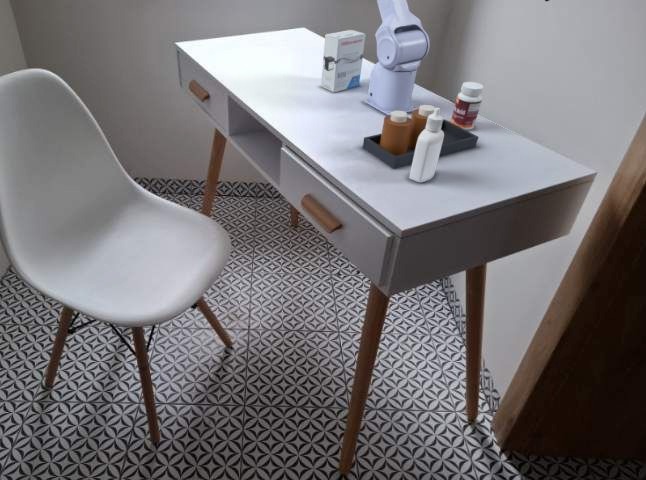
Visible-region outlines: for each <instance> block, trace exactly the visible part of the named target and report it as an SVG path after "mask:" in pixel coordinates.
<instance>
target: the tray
mask: <svg viewBox="0 0 646 480" xmlns="http://www.w3.org/2000/svg"><path fill="white" fill-rule="evenodd" d="M441 130H442V131H443V132H444V138H443V143H442V147H441V151H440V155H439V157H442V156H447V155H451V154H454V153H458V152H462V151H466V150H470V149H473V148H476V146H477V143H478V141H479V136H478V135H476V134H474V133H472V132H470V131H469V130H464V129H463V128H461V127H459V126H457V125H455V124H453V123H451V121H449V120H448V119H444V118H443V122H442V126H441ZM381 134H382V133H378V134H373V135H370V136H365V137H363V142H362V149H363V150H365V151H366V152H367V153H369V154H371V155H372V156H374V157H375V158H377V159H378V160H380V161H381V162H383V163H384V164H386V165H387V166H389V167H390V168H392V169H397V168H401V167H405V166H409V165H412V162H413V157H414V153H415V149H412V148H410V147H407V151H406V154H402V155H398V156H395V155H394V154H392V153H391V152H389V151H387V150H386V149H384V148H383V147H381V146H380V140H381Z"/></svg>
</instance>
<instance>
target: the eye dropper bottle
mask: <svg viewBox="0 0 646 480" xmlns="http://www.w3.org/2000/svg"><path fill="white" fill-rule="evenodd" d="M443 120H444V117H443V116H442V115H441V108H440V107H435V111H434V113H433V114H431V115H429V116H428V119H427V123H426V129H424V130H423V131H422V132H421V133H420V135H419V137H418V140H417V144H416V148H415V153H414V157H413V162H412V164H411V167H410V171H409V176H408V177H409V179H410V180H411V181H414V182H416V183H419V184H420V183H425V182H428V181H429V180H432V179H433V177H434V176H435V173H436V170H437V166H438V161H439V159H440V156H439V155H440V151H441V147H442V143H443V138H444V132H443V131H442V130H441V126H442V122H443Z"/></svg>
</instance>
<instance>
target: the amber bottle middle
mask: <svg viewBox="0 0 646 480" xmlns="http://www.w3.org/2000/svg"><path fill="white" fill-rule="evenodd" d="M435 108H436V107H435V106H434V105H430V104H421V105H420V106H419V108H418V109H416V110H414V111H413V112H411V116H410V119H411V120H412V121H413V123H412V127H411V132H410V137H409V142H408V147H410V148H412V149H415V148H416V144H417V140H418V137H419V135H420V133H421V132H422V131H423V130H424V129H426V123H427V119H428V116H429V115H431V114H433V113H434V111H435Z"/></svg>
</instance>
